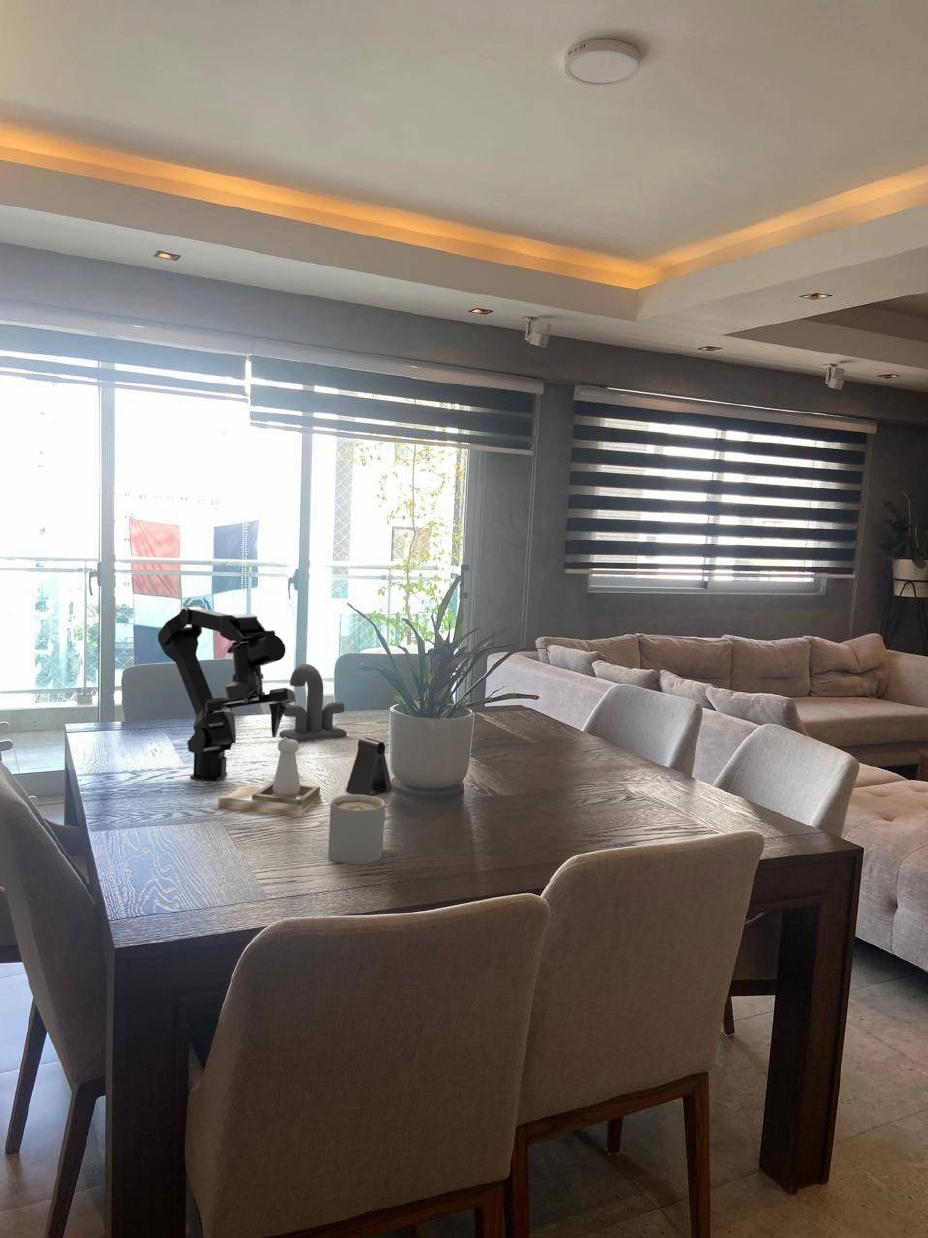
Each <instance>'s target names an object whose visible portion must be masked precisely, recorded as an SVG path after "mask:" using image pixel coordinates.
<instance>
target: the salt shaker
mask: <svg viewBox="0 0 928 1238" xmlns="http://www.w3.org/2000/svg"><path fill="white" fill-rule="evenodd" d="M277 749H278V751H279V752H280V754H279V759H278V762H277V767H276V770H275V775H274V780H273V782H274V784H273V793H274V795H275V796H280V797H288V798H297V795H298V793H299V791H300V785H301V784H300V777H299V770H298V764H297V758H296V757H297V756H296V753H297V752H298V750H299V742H297V741H296V740H293V739H285V738H283V739H281V740H279V742H278V745H277Z"/></svg>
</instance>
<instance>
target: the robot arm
mask: <svg viewBox="0 0 928 1238" xmlns="http://www.w3.org/2000/svg"><path fill="white" fill-rule="evenodd" d="M202 628H203V629H207V630H212V631H215V632H217V633H219V634H220V636H221V637H222V638H224V639H226V640H228V641H230V642H232V644H231V645H230V646H229V648H228V649H227V651H226V652H227V654H232V655H233V656H232V657H233V666H234V668H233V669H234V674H232V681H231V682H229V683H228V684H227V685H225V687H224V688H225V691H226V696H227V697H215V698H214V696H213V694H212V692H211V689H210V686H209V684H208V682H207V678H206V676H205V674H204V672H203V669H202V666H201V664H200V661H199V659H198V656H197V651H198V648H199V647H198V646H199V641H198V640H199V639H198V638H199V637H200V636H201V635H202V634H203V631H202V630H203V629H202ZM157 641H158V643H159V646H160V647H161V649H162V650H163V653H164V654H165V655H166V656H167V657H168V658H169V659H170V660H172V661H173V662H174V663H175V664H176V667H177V670H178V672H179V675H180V677H181V680H182V682H183V685H184V687H185V690H186V693H187V695H188V698H189V700H190V704H191V706H192V708H193V710H194V713H195V719H194V722H193V723H194V724H193V731H194V733H193V735H192V736H191V737H190V738H189V740H188V741H187V743H186V744H187V748H188V752H190V753H193V774H191V775H190V776H189V778H190V779H197V780H207V781H214V782H215V781H218V780H220V779H221V778H223V777H225V776H227V775H228V772H227V759H228V758H227V757H226V751H231V749H232V745H233V744H236V743H237V741H236V740H237V739H236V738H237V732H236V731H237V730H236V719H235V713H234V712H231V711H232V709H234V708H242V707H247V706H254V705H261V704H266V703H268V706H269V707H268V708H269V709H270V718H271V719H270V721H271V725H270V727H271V736H272V738H276V737H277V735H278V730H279V728H280V725H281V722H282V720H283V719H282V718H283V717H284V712H285V710H286V708H287V707H290V705H291V704H292V703H295V702H296V694H295V692H294V690H293V689H290V688H287V687H281V688H274V689H270V690H269V693H267V694H266V692H264V690H263V689H264V688H263V686H264V685H263V679H264V674H263V673H262V668H261V666H266V665H269V664H272V663H275V662H278V661H280V660H282V659H283V658H284V657H285V654H286V644H285V643H284V641H283V640H282V639H281V638H280V637H279V636H277V635H276V631H275V630H273V629H272V630H266V628H264V626H263V625H262V623H261V622H260V621H259V620H258V617H257V616H256V615H255V614H252V613H249V614H248V613H247V614H227V613H222V612H218V611H213V610H210V609H205V608H203V607H201V606H192V607H189V606H188V607H187V606H186V607H184V608H182V609H181V610H180V612H179V613H177V615H175V616H174V617H172V618H171V619H169V620H168V621H166V622H165V624H163V626H162V627H161V629H160V630H159V632H158V634H157ZM254 699H255V700H254Z"/></svg>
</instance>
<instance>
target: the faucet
mask: <svg viewBox="0 0 928 1238" xmlns="http://www.w3.org/2000/svg"><path fill="white" fill-rule="evenodd" d="M290 676H291V677H290V680H289V685H290V686H291V687H295V688H296V687H304V686H307V696H306V697H307V698H306V699H307V700H306V709H305V708H304V707H302V706H301V705H299V704H290V707H287V708H286V710H285V712H284V714H283V717H293V718H295V720H294V724H295V725H294V728H293V729H292V728H291V729H284V730H281V731H279V733H278V734H279V737H280V736H281V738H283V737H286V738H288V739H293V740H296V741H297V742H298V743H301V741H303V742H308V741H307V740H311V741H316V740H315V739H319V740H322V739H321V738H327V739H330V738H329V737H335V738H342V737H347V736H348V732H347V731H346V730H345V729H342V728H340V727H337V726H335V725H334V714H335V715H336V714H342V713H344V711H345V704H344V702H343V701H335V702H334V701H333V702H329V703H327V704H326V705H325V706H323V705H324V683H323V678H322V676H321V673H320V672H319V670H318V669H317V668H316V667H315V666H313V665H312V664H310V663H309V664H307V663H302V664H300V665H298V666H297V667H296V668H295V669H294V670H293V672H292V673H291V675H290Z"/></svg>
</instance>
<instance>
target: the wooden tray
mask: <svg viewBox="0 0 928 1238" xmlns="http://www.w3.org/2000/svg"><path fill="white" fill-rule="evenodd" d="M273 784H274V780H272V781H271V782H269V783H267V784H266V785H265V786H263V787H262V786H261V787H259V786H251V785H243V786H241V787H239V788H238V789H236V790H235V791H233V792H232V793H230V794H228V795H220V796H218V799H217V800H218V806H217V808H220V807H222V809H223V808H224V809H229V808H230V810H238V811H248V812H255V813H264V814H269V815H270V814H273V815H279V816H280V815H281V816H288V817H295V818H300V817H302V816H303V815H304V814H306V813H307V812H308V811H309V810H311V808H313V807H314V806H316V804H318V803H319V802H320V801H322V800H321V799H322V795H321V793H320V791H321V790H320V789H321V786H317V785H308V784H307V785H306V784H300V791H299V793H298V795H297V798H288V797H280V796H275V795H274V793H273ZM318 801H319V802H318ZM317 802H318V803H317ZM313 805H314V806H313ZM312 806H313V807H312ZM307 810H308V811H307ZM306 811H307V812H306Z"/></svg>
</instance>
